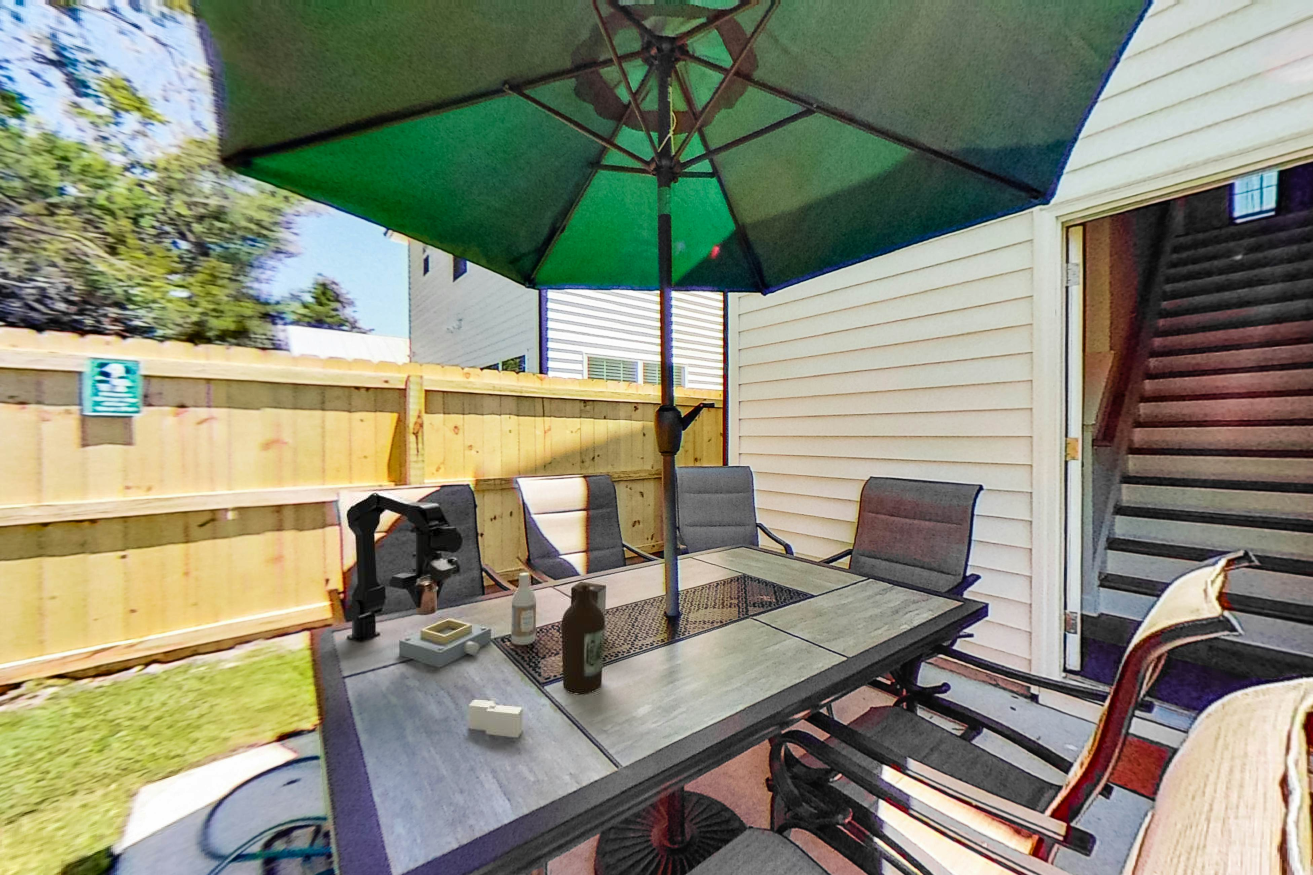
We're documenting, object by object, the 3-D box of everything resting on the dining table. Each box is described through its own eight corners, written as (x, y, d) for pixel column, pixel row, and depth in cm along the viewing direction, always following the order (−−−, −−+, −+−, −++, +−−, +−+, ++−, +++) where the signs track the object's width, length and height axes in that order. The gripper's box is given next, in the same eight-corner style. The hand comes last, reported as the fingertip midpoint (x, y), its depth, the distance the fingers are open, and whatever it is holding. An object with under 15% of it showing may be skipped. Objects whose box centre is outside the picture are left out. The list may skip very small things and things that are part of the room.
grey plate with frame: (399, 654, 137) (399, 632, 137) (452, 631, 153) (452, 611, 153) (448, 670, 129) (448, 647, 129) (498, 643, 145) (498, 623, 145)
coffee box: (568, 640, 148) (569, 587, 147) (579, 632, 154) (579, 581, 153) (596, 645, 145) (597, 590, 144) (606, 637, 151) (606, 584, 150)
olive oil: (551, 686, 121) (552, 585, 121) (581, 670, 130) (583, 575, 129) (583, 701, 115) (584, 593, 115) (612, 682, 124) (614, 582, 123)
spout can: (412, 613, 138) (412, 584, 138) (428, 607, 142) (428, 579, 142) (429, 617, 135) (429, 588, 134) (445, 611, 139) (445, 583, 139)
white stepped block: (537, 735, 103) (537, 707, 103) (483, 759, 95) (484, 729, 95) (504, 705, 114) (504, 680, 114) (454, 724, 106) (454, 698, 106)
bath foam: (515, 647, 142) (516, 578, 142) (508, 639, 148) (509, 572, 148) (538, 642, 146) (539, 574, 146) (530, 634, 152) (531, 569, 152)
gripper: (416, 560, 127) (416, 621, 127) (473, 545, 143) (473, 599, 143) (388, 555, 132) (388, 613, 132) (447, 541, 148) (446, 593, 148)
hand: (426, 604), depth 139 cm, fingers closed on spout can, 5 cm apart
